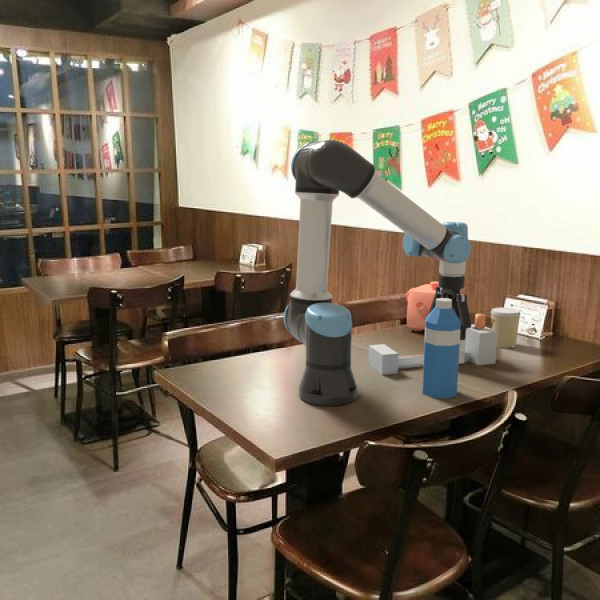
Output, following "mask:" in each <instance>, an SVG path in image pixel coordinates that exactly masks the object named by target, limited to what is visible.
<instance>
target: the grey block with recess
mask: <svg viewBox="0 0 600 600" xmlns="http://www.w3.org/2000/svg"><path fill="white" fill-rule="evenodd" d="M497 335H498V332H497V331H495V330H492V329H491V327H487V326H485V328H484V329H478V328H475V323H474V324H473V323H471V328H467V329H466V342H465V350H467V351H469V352H470V362H471V363H473V364H475V365H477V366H486V365H494V364H496V362H497V348H498V347H497Z"/></svg>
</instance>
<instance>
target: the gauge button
mask: <svg viewBox="0 0 600 600" xmlns="http://www.w3.org/2000/svg"><path fill="white" fill-rule="evenodd" d="M474 315H475V316H474V324H475V328H478V329H484V328H485V327H486V316H487V315H486V314H484V313H475V314H474Z"/></svg>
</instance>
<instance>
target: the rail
mask: <svg viewBox="0 0 600 600" xmlns="http://www.w3.org/2000/svg"><path fill="white" fill-rule="evenodd" d="M470 362H471V361H470V352H469V351H467V350H465V360H464V363H470ZM423 365H424V353H421V354H410V355H400V356H399V355H398V370H399V369H409V368H419V367H421V368H422V367H423Z"/></svg>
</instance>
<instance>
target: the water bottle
mask: <svg viewBox="0 0 600 600" xmlns="http://www.w3.org/2000/svg"><path fill="white" fill-rule="evenodd" d="M460 329H461V322H460V320H459V318H458V317H457V315H456V313H455V312H454V310H453V309H452V299H448V298H438V299H436V306H435V308H434V309H433V310H432V311H431V312H430V314H429V315H428V316H427V317H426V319H425V330H424V342H423V343H424V345H423V347H424V348H423V354H424V365H423V366H422V367H423V371H422V395H426V396H428V397H430V398H433V399H434V398H435V399H450V398H453V397H456V396H458V380H459V379H458V378H459V365H460V364H459V347H460Z"/></svg>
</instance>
